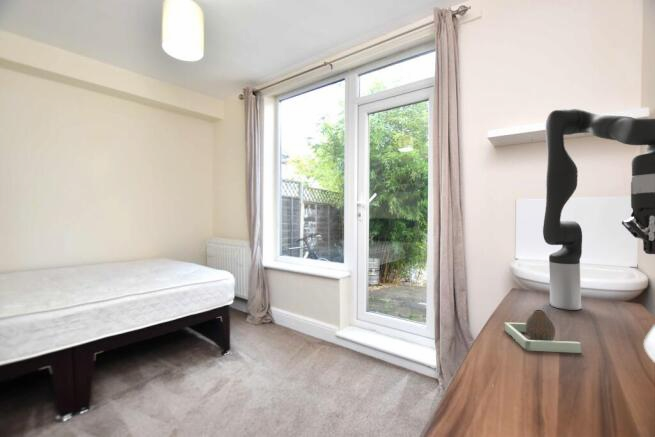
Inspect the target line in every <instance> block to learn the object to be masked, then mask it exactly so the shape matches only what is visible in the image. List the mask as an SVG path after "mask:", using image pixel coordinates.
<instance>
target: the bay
mask: <svg viewBox="0 0 655 437" xmlns="http://www.w3.org/2000/svg"><path fill="white" fill-rule="evenodd" d="M503 323H504V324H503V325H504V326H503V327H504V332H505V333H507V334H508V335H509V336H510V335H511V336H512V337H513V338H512V337H511V336H510V337H511V338H512V339H513V340H514V339H515V340H514V341H515V342H516V343H518V344H519V346H521V347H522V348H523V349H524V350H525V351H528V352H529V351H530V352H534V351H535V352H536V351H537V352H549V353H550V352H554V353H555V352H556V353H571V354H572V353H573V354H582V343H581V342H579V341H569V340H568V341H567V340H566V341H565V340H563V341H562V340H552V341H546V340H532V339H528V338H526V336H524V335H523V334H522V333H527V332H526V322H506V321H505V322H503Z"/></svg>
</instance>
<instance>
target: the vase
mask: <svg viewBox="0 0 655 437" xmlns="http://www.w3.org/2000/svg"><path fill="white" fill-rule="evenodd" d="M525 323H526V332H525V333H527V335H528V337H529V339H530V340H546V341H554V339H555V336H556V327H555V324H554V322H553V320H552V319H551V318H550V316H548V315H547V313H546V312H545V310H543V309H537V308H536V309H534V310H533V312H532V313H531V314H530V315H529V316H528V318H527V319H526V322H525Z"/></svg>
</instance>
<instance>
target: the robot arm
mask: <svg viewBox="0 0 655 437" xmlns="http://www.w3.org/2000/svg"><path fill="white" fill-rule="evenodd" d="M544 128H545V141H546V152H547V153H546V155H547V156H546V157H547V158H546V159H547V161H546V162H547V165H546V166H547V167H546V180H545V181H546V187H545V188H546V199H545V201H546V202H545V212H544V220H543V226H542V227H543V228H542V234H543V236H542V237H543V239H544V242H545V243H546V244H547V245H550V246H562V247H561V248H560V249H559V250H557V251H555V252H552V253H551V254H550V255H548V256H549V257H548V263H549V266H548V267H549V282H548V283H549V304H550V305H551V307H554V308H556V309H557V308H558V309H561V310H568V311H569V310H570V311H577V310H578V311H579V310H581V309H582V293H581V291H582V288H581V263H580V262H581V257H582V253H583V251H582V250H583V231H582V228H581V225H580V224H579V223H578V222H577V221H574V220H573V221H572V220H566V221H565V220H561V219H562V218H561V217H562V212H563V209H564V206H565V205H566V204H567V202H568V201H569V199H570V198H571V197H572V196H573V194H574V193H575V191H576V189H577V187H578V178H579V177H578V176H579V175H578V173H579V172H578V166H577V165H576V163H575V161H574V160H573V159H572V157H571V156H570V154H569V152H568V151H567V149H566V147H565V138H564V137H565V136H567V135H574V134H592V135H593V136H594V137H597V138H600V139H604V140H605V139H606V140H611V141H617V142H619V143H621V144H623V145H628V146H647V147H646V150H645V152H644V153H641V154H638V155H636V156H634V157H633V158H632V160H631V181H630V207H631V209H632V213H631V214H630V218H628V219H626V220H622V221H621V225H622V226H623V227H625V229H626V230H627V231H628V232H629V233H630V235H632V236H633V237H634V238H636V239H641V240H642V241H643V242H642V243H643V244H642V245H643V246H642V247H643V248H642V249H643V251H644V252H645V254H647V255H655V118H634V117H631V116H626V115H625V116H624V115H605V114H596V113H593V112H589V111H586V110H583V109H578V108H568V109H567V108H564V109H555V110H553V111H551V112H549V113H548V115H547V117H546V120H545V127H544Z"/></svg>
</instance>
